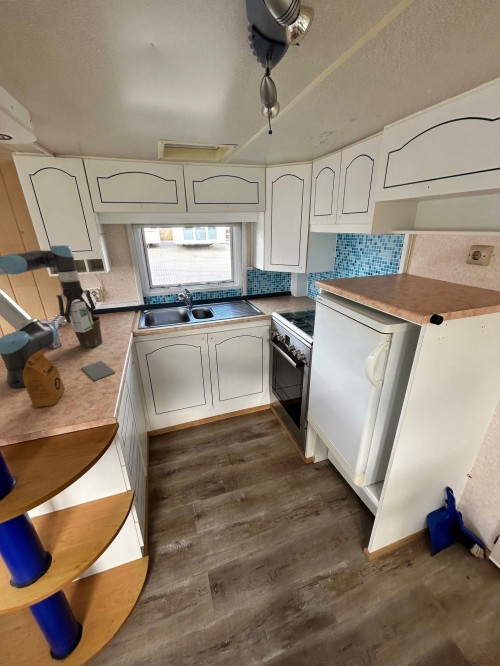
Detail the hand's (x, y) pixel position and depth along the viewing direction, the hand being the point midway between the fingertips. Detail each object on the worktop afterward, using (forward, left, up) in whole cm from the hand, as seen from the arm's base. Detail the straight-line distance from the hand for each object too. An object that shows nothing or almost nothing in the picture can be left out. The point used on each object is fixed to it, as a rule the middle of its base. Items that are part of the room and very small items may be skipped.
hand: (82, 326), depth 133 cm
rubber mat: (0, -7, -23) cm, 24 cm away
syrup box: (0, 0, -2) cm, 2 cm away
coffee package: (-23, -17, -23) cm, 37 cm away
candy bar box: (-7, +47, -23) cm, 53 cm away
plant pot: (+10, +31, -23) cm, 40 cm away
